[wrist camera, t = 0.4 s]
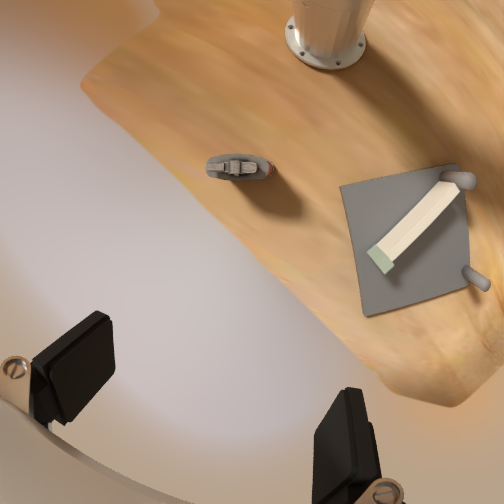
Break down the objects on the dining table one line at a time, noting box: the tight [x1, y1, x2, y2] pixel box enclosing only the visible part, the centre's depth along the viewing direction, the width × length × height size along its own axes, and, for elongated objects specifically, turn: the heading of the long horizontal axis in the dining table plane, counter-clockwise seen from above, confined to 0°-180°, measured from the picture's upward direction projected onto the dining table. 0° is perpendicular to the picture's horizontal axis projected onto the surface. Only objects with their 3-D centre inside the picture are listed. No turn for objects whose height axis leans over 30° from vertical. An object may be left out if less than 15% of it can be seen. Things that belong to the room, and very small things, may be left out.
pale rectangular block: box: [367, 181, 460, 274], centre depth 33 cm, size 16×2×6 cm, turn 136°
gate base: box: [339, 163, 491, 317], centre depth 34 cm, size 21×21×9 cm
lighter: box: [205, 154, 274, 181], centre depth 36 cm, size 8×3×10 cm, turn 88°
